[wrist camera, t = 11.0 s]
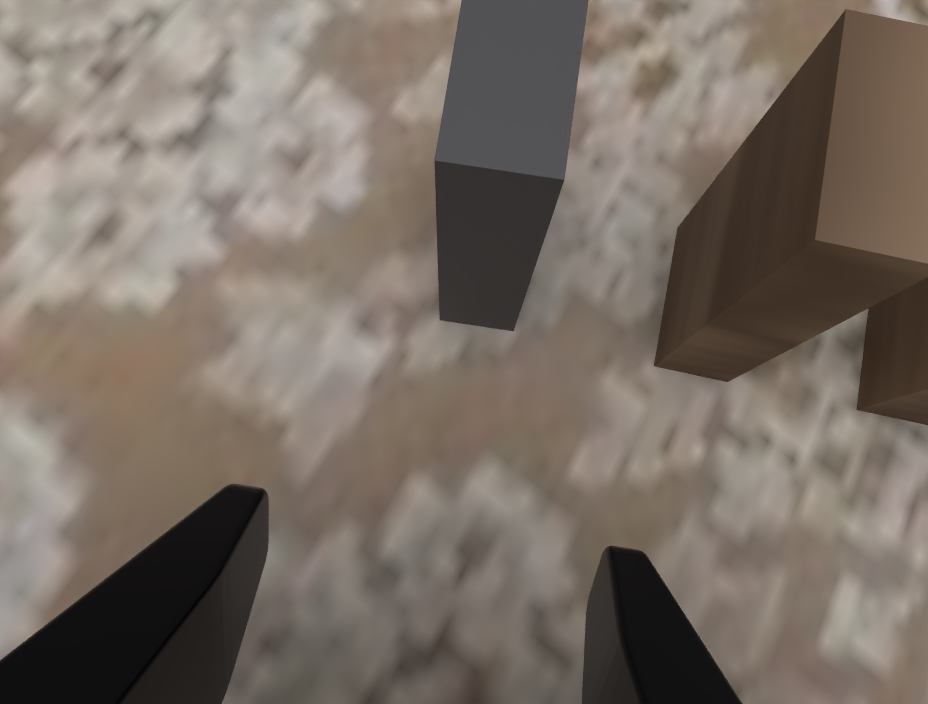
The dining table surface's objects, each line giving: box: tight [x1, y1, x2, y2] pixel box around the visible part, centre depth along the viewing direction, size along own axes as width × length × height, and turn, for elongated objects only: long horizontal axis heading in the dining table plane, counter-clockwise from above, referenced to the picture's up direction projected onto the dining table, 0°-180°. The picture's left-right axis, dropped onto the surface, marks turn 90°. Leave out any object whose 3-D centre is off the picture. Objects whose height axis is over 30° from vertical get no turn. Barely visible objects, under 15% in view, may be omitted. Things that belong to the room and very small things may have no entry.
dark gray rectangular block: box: [435, 0, 588, 331], centre depth 18 cm, size 2×4×10 cm, turn 171°
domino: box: [654, 9, 928, 382], centre depth 18 cm, size 2×4×10 cm, turn 168°
